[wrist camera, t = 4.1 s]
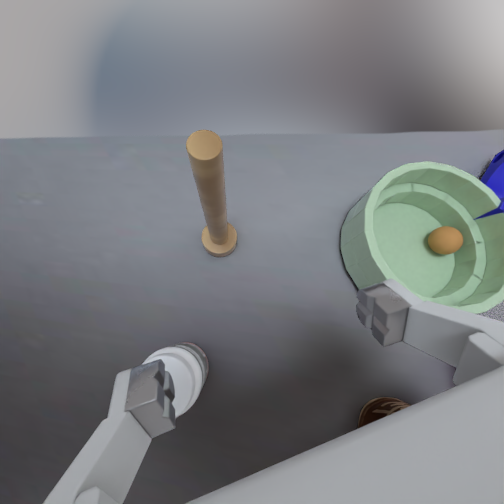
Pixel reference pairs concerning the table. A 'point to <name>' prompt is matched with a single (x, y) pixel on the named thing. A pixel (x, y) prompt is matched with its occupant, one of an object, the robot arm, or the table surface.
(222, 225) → the stirring stick
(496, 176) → the blue curved piece
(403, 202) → the bowl
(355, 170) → the table surface
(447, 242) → the ball
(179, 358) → the pill bottle
